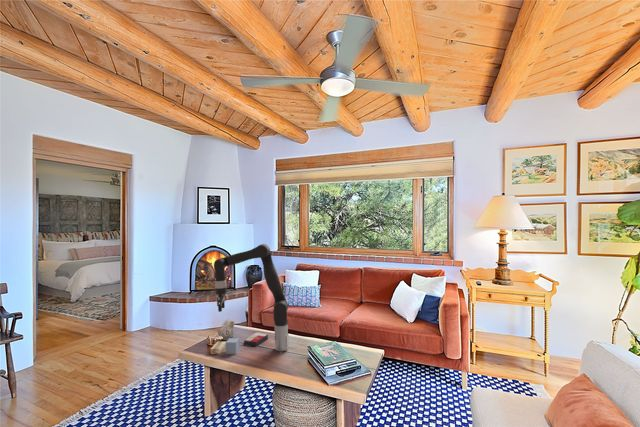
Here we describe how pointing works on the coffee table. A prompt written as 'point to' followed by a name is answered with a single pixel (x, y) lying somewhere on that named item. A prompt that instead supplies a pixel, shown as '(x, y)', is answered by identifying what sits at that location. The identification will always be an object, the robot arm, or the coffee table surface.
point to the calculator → (256, 339)
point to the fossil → (227, 330)
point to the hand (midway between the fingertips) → (221, 309)
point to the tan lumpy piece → (218, 347)
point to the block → (232, 346)
